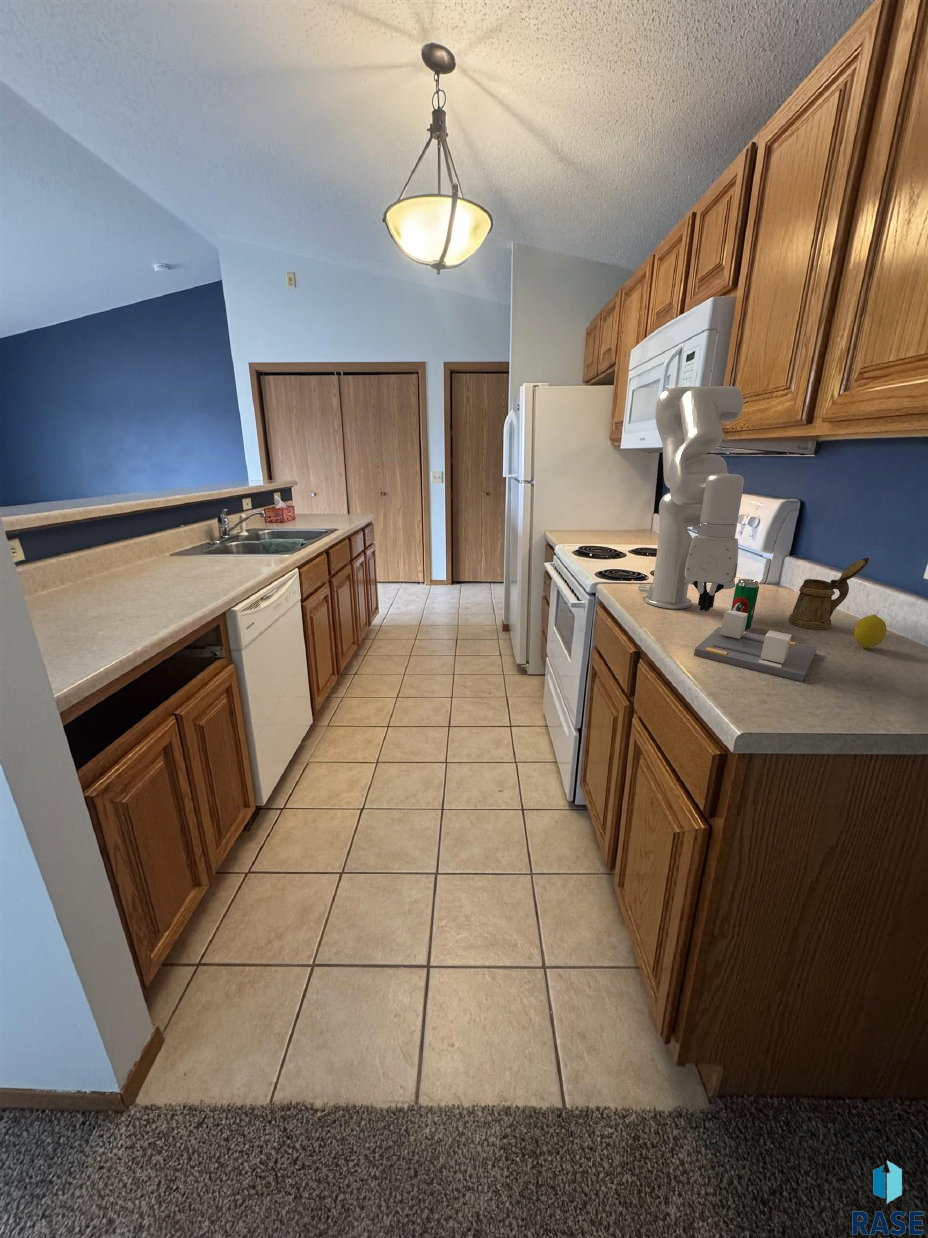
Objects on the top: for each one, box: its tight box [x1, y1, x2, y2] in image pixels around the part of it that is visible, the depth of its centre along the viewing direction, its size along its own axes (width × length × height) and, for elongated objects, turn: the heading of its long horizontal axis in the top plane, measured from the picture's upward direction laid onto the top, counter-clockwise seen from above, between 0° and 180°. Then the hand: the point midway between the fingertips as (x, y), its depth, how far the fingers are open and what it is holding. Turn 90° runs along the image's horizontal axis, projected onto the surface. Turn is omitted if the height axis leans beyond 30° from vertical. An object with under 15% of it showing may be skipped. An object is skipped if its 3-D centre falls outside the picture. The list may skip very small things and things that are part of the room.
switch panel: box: [693, 626, 818, 682], centre depth 107 cm, size 20×18×2 cm
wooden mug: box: [787, 557, 870, 631], centre depth 123 cm, size 9×14×18 cm, turn 69°
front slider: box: [761, 630, 793, 664], centre depth 100 cm, size 4×4×5 cm
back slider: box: [721, 609, 748, 639], centre depth 113 cm, size 4×4×5 cm
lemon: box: [853, 614, 887, 649], centre depth 110 cm, size 6×6×8 cm
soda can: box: [730, 578, 760, 630], centre depth 123 cm, size 5×5×12 cm
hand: (704, 609), depth 116 cm, fingers closed
